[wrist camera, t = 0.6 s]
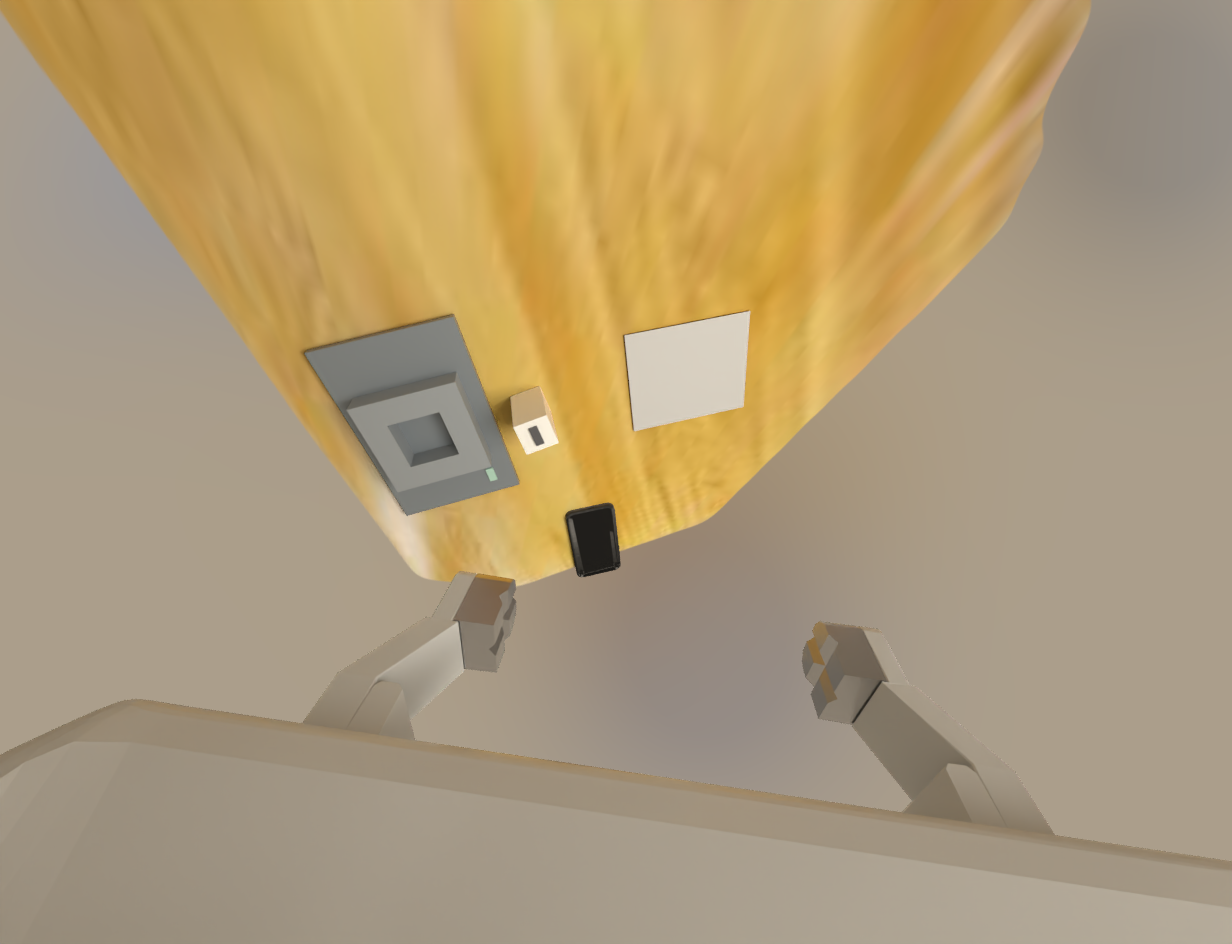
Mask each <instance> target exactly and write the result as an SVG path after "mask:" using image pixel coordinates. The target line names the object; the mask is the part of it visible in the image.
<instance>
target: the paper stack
mask: <svg viewBox="0 0 1232 944" xmlns="http://www.w3.org/2000/svg"><path fill="white" fill-rule="evenodd" d="M749 321H750V311H747V312H742V313H737V314H732V315H727V316H722V317H716V318H711V319H706V320H701V321H696V322H691V323H686V324H681V325H676V326H670V327H665V328H660V329H655V330H650V331H645V332H640V333H635V334H629V335H624V337H625V347H626V357H627V367H628V377H629V387H630V396H631V406H632V416H633V426H634V431H637V430H642V429H646V428H651V427H655V426H660V425H664V424H669V423H673V422H678V421H682V420H687V419H691V418H696V417H700V416H705V415H709V414H714V413H718V412H723V411H727V410H732V409H736V408H741V407H743V406H744V392H745V378H746V363H747V349H748V335H749Z"/></svg>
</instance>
